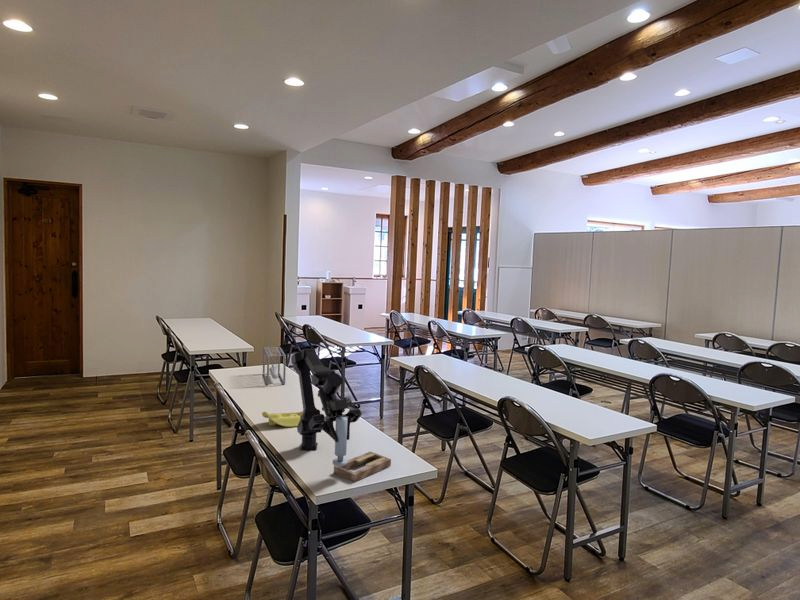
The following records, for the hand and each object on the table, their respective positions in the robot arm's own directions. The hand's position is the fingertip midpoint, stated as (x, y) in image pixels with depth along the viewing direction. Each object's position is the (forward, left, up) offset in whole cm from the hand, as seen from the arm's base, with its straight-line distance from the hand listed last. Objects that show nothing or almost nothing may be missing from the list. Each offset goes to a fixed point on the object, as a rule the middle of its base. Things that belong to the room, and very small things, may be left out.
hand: (342, 440), depth 176 cm
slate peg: (-1, -1, -9) cm, 9 cm away
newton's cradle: (-138, -44, -14) cm, 146 cm away
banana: (-57, -27, -14) cm, 65 cm away
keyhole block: (-7, +7, -13) cm, 17 cm away
